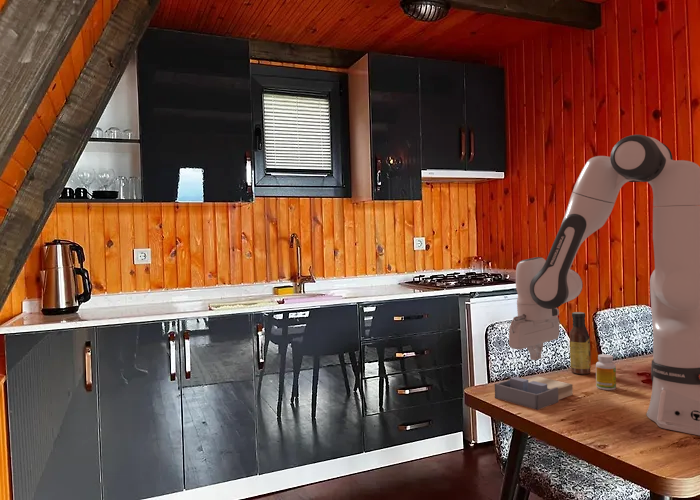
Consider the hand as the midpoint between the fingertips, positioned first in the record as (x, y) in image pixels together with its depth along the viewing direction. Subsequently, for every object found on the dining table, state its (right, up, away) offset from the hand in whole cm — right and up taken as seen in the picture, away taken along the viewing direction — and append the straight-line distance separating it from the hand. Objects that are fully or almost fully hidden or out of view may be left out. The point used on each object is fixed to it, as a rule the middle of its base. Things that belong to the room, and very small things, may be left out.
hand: (536, 359), depth 158 cm
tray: (-5, -10, -6) cm, 13 cm away
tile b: (-5, -7, -2) cm, 9 cm away
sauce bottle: (+22, -9, +19) cm, 30 cm away
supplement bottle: (+22, -9, +2) cm, 24 cm away
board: (+3, -10, -1) cm, 10 cm away
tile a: (-1, -7, -7) cm, 10 cm away
